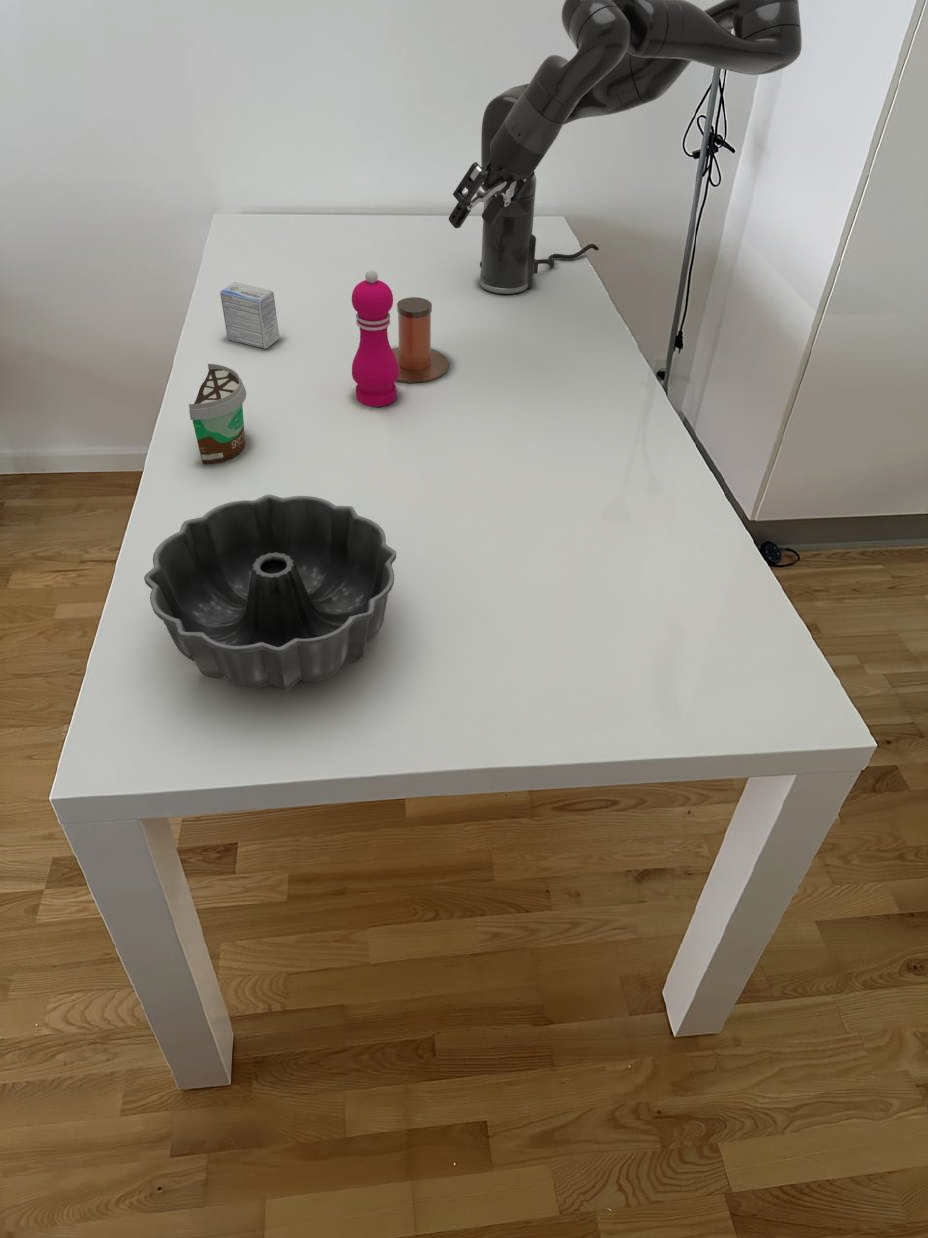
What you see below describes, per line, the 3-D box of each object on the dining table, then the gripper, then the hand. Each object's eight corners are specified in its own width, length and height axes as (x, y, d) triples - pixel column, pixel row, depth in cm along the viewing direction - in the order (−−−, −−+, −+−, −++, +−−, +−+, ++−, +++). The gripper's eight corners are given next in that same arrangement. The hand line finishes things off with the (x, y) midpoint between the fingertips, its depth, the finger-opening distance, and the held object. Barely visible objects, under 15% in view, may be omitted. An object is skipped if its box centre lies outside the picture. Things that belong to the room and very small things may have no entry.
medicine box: (280, 339, 158) (274, 290, 152) (265, 350, 155) (259, 300, 149) (241, 329, 160) (234, 280, 154) (226, 340, 157) (218, 290, 151)
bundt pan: (219, 543, 116) (206, 477, 110) (422, 575, 113) (422, 509, 106) (120, 694, 97) (97, 625, 91) (360, 738, 94) (355, 670, 87)
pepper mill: (406, 390, 146) (404, 265, 132) (388, 412, 141) (385, 284, 127) (364, 382, 148) (358, 257, 134) (345, 403, 143) (337, 276, 129)
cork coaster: (434, 343, 158) (434, 341, 158) (459, 376, 150) (459, 374, 150) (367, 354, 155) (366, 351, 154) (389, 387, 147) (389, 385, 146)
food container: (244, 471, 128) (234, 407, 121) (200, 470, 128) (187, 406, 121) (260, 425, 137) (252, 363, 130) (219, 423, 137) (208, 361, 130)
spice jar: (424, 352, 155) (425, 295, 148) (436, 367, 151) (436, 309, 144) (393, 357, 153) (392, 299, 146) (404, 373, 150) (403, 313, 143)
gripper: (515, 152, 128) (456, 243, 140) (569, 151, 138) (510, 236, 150) (482, 113, 129) (426, 207, 141) (538, 115, 139) (482, 202, 151)
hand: (470, 222), depth 145 cm, fingers open, 8 cm apart
